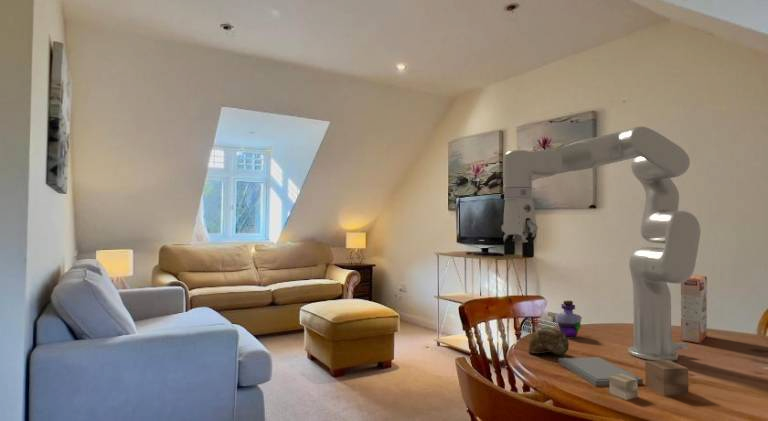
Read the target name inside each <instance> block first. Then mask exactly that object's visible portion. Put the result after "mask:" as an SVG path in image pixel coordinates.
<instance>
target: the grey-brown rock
mask: <svg viewBox="0 0 768 421" xmlns="http://www.w3.org/2000/svg"><path fill="white" fill-rule="evenodd" d="M569 348H570V343H569V338H567V337H566V336H565V335H564V334H563V333H562V332H561V331H560V330H559V329H558V328H554V327H549V326H548V327H547V326H546V327H542V328H539V329H537V330H536V331H535V332H534V333H533V335H532V336H531V338H530V340H529V343H528V349H527V351H528V353H531V354H541V353H548V352H549V353H551V354H552V355H555V356H563V355H564V354H566V353H567V352H568V350H569Z"/></svg>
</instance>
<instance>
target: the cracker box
mask: <svg viewBox="0 0 768 421" xmlns="http://www.w3.org/2000/svg"><path fill="white" fill-rule="evenodd" d="M707 280H708V277H707V276H705V275H700V274H699V275H697V274H695V275H694V274H692V276H691V277H690V279H689V280H687V281H686V282H684V283H680V341H683V342H684V341H685V342H689V343H696V344H701V343H702V342H703V341H704V339H706V337H707V335H708V334H707V333H708V332H707V331H708V329H707V326H708V323H707V322H708V321H707V319H708V313H707V312H708V311H707V309H708V308H707V307H708V303H707V302H708V301H707V299H708V295H707V294H708V293H707V292H708V291H707V290H708V281H707Z"/></svg>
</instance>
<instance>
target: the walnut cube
mask: <svg viewBox="0 0 768 421" xmlns="http://www.w3.org/2000/svg"><path fill="white" fill-rule="evenodd" d="M644 362H645V369H644V370H645V373H644V374H645V387H646V388H649V389H651V390H653V391H655V392H657V393H658V394H660V395H662V396H667V397H668V396H685V395H686V396H688V395H689V368H688V367H686V366H683V365H681V364H678V363H676V362H674V361H669V360H659V361H655V360H645V361H644Z"/></svg>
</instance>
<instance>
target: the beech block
mask: <svg viewBox="0 0 768 421" xmlns="http://www.w3.org/2000/svg"><path fill="white" fill-rule="evenodd" d="M638 385H639V384H637V379H635V378H632V377H629V376H626V375H623V374H618V375H613V376H609V385H608V387H609V395H612V396H615V397H617V398H620V399H622V400H625V401H627V400H632V399H635V398H638V396H639V395H638V392H639V390H638Z"/></svg>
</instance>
